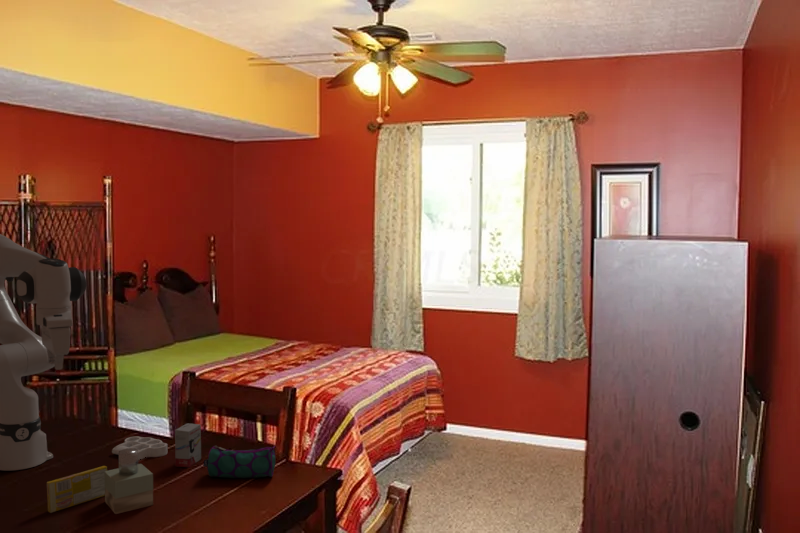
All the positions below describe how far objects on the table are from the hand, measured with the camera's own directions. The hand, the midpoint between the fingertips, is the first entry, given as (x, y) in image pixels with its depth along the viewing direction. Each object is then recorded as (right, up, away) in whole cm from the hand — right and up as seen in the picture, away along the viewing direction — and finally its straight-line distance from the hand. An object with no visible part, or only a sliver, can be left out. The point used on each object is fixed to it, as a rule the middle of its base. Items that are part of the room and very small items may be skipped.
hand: (55, 366), depth 193 cm
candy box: (+8, -38, -2) cm, 39 cm away
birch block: (+22, -38, -2) cm, 44 cm away
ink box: (+28, -36, +30) cm, 54 cm away
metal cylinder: (+22, -29, -3) cm, 36 cm away
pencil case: (+48, -37, +18) cm, 63 cm away
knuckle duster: (+9, -35, +40) cm, 54 cm away
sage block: (+22, -33, -3) cm, 40 cm away
